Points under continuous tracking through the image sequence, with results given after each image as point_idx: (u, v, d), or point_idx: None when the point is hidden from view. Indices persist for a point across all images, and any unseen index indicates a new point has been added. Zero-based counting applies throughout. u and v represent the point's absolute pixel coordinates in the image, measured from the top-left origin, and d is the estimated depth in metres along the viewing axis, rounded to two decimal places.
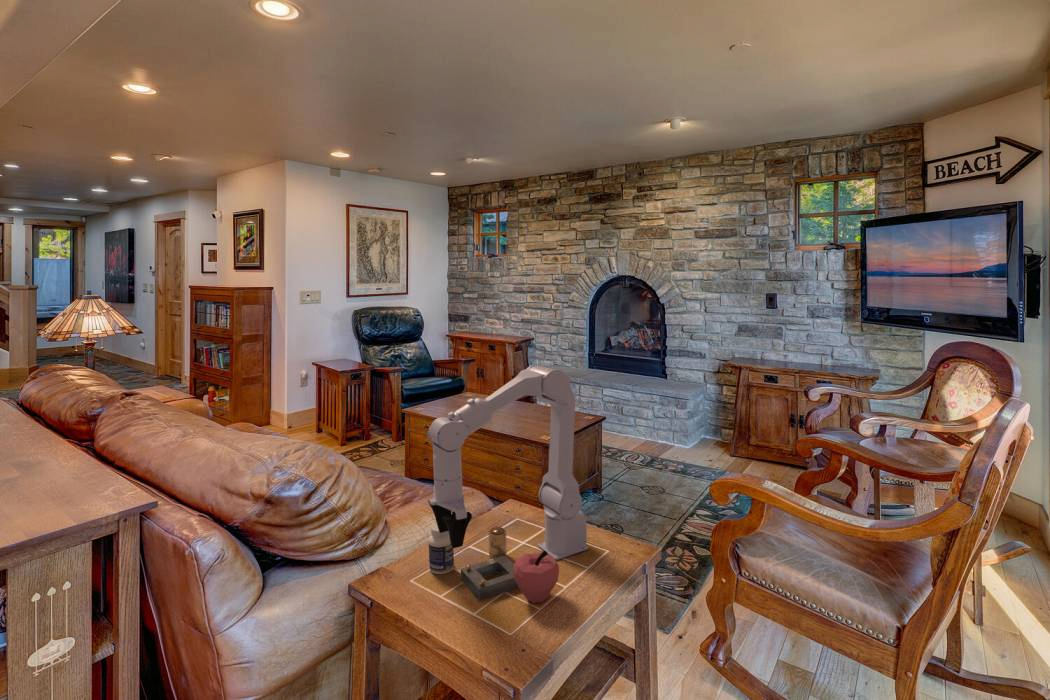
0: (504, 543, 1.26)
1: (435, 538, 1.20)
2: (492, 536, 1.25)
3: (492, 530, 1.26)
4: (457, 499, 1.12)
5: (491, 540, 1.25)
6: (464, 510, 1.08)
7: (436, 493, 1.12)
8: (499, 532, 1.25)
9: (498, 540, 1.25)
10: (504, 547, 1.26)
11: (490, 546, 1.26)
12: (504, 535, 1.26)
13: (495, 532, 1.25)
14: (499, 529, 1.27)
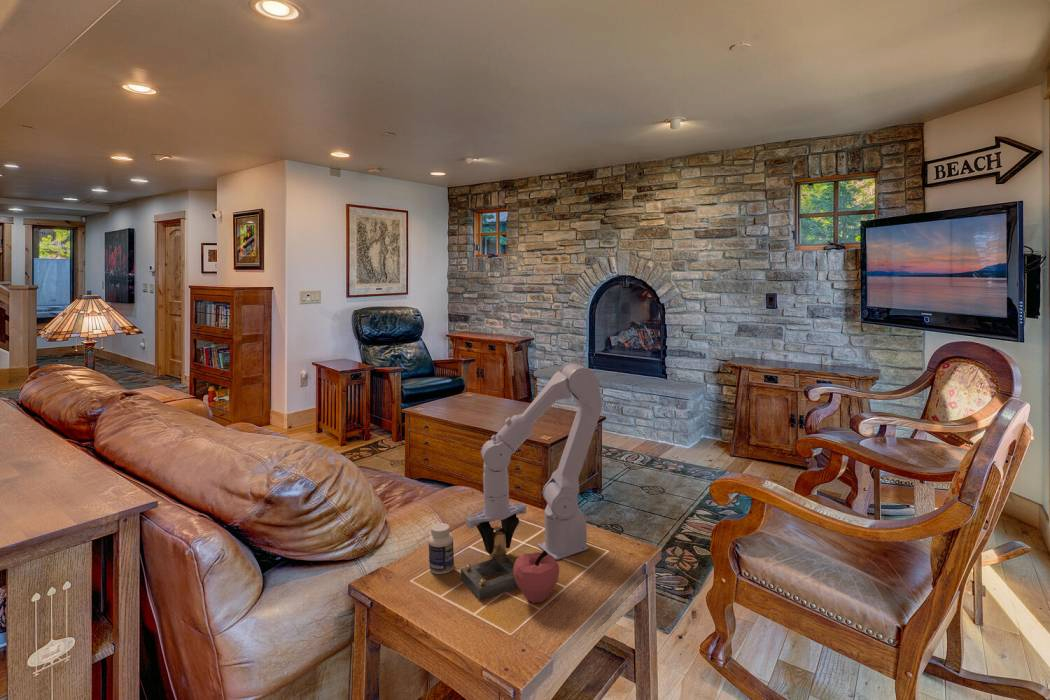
0: (504, 543, 1.26)
1: (435, 538, 1.20)
2: None
3: None
4: (487, 514, 1.24)
5: None
6: (468, 521, 1.22)
7: None
8: (499, 532, 1.25)
9: (498, 540, 1.25)
10: (504, 547, 1.26)
11: None
12: (504, 535, 1.26)
13: (495, 532, 1.25)
14: (499, 529, 1.27)
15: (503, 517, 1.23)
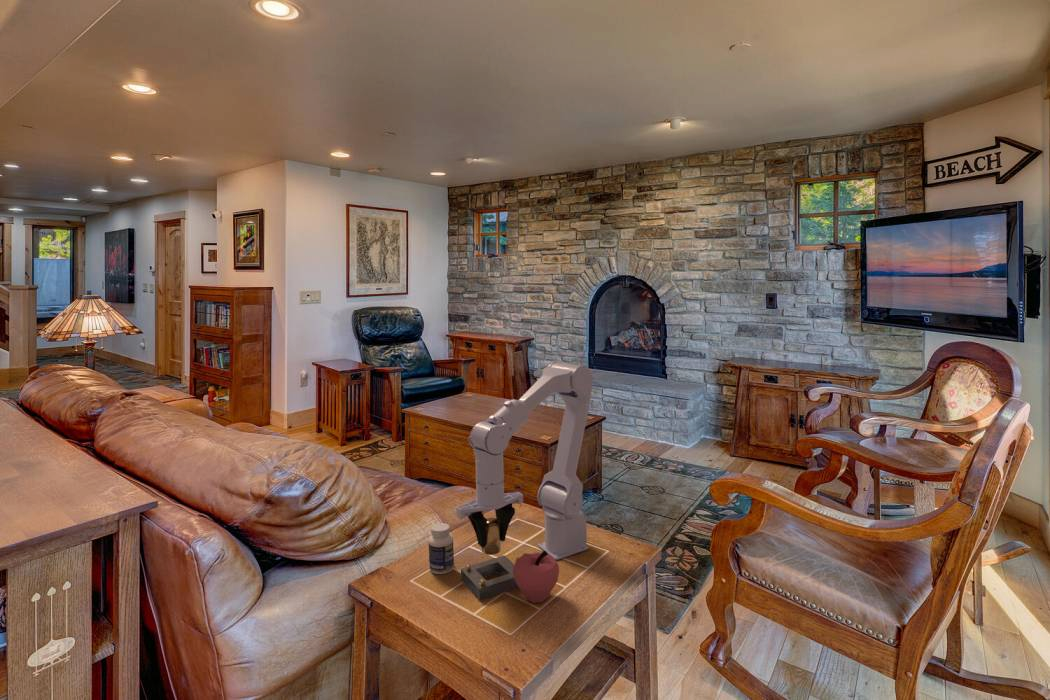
0: (497, 536, 1.14)
1: (435, 538, 1.20)
2: None
3: None
4: (480, 503, 1.12)
5: None
6: (459, 510, 1.10)
7: None
8: (492, 523, 1.14)
9: (490, 532, 1.13)
10: (497, 540, 1.14)
11: None
12: (497, 527, 1.14)
13: (487, 523, 1.14)
14: (492, 520, 1.15)
15: (497, 507, 1.12)
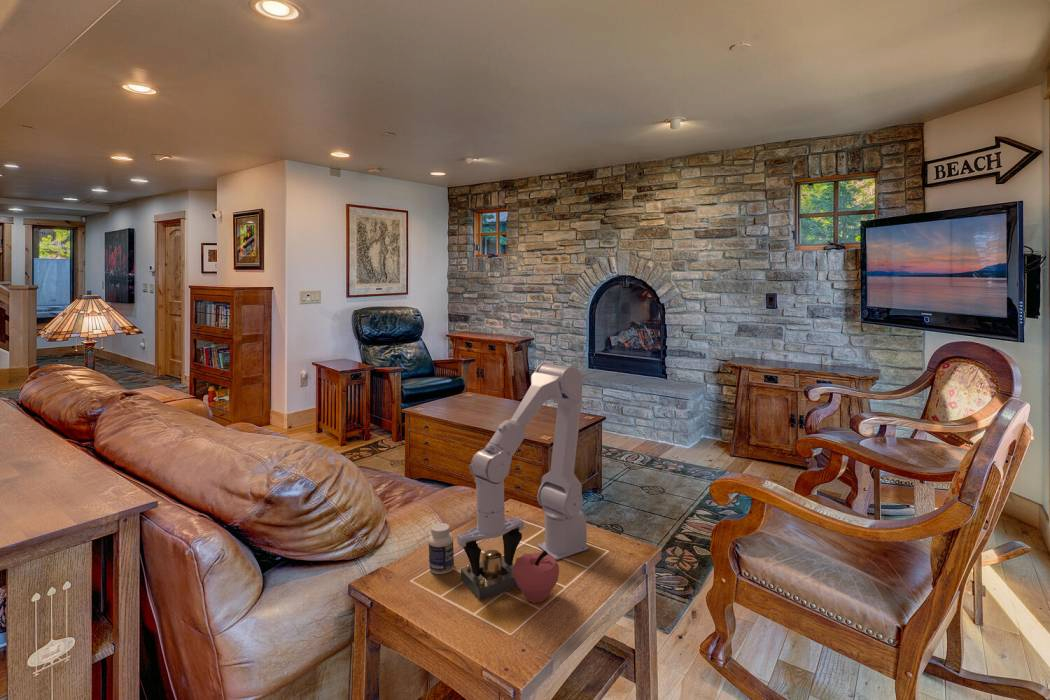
0: (499, 568, 1.15)
1: (435, 538, 1.20)
2: (485, 560, 1.15)
3: (486, 553, 1.16)
4: (481, 531, 1.13)
5: (484, 565, 1.15)
6: (460, 539, 1.11)
7: None
8: (493, 556, 1.15)
9: (492, 565, 1.14)
10: (499, 572, 1.15)
11: (483, 571, 1.15)
12: (499, 559, 1.15)
13: (489, 556, 1.15)
14: (494, 552, 1.16)
15: (498, 534, 1.13)
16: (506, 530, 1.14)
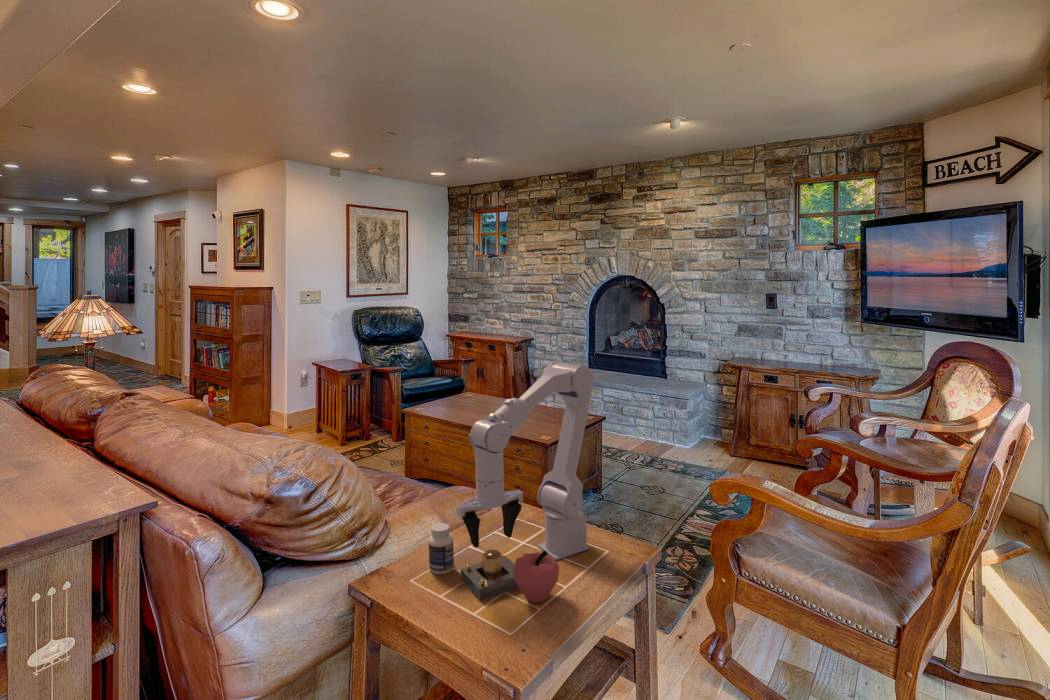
0: (499, 568, 1.15)
1: (435, 538, 1.20)
2: (486, 560, 1.15)
3: (486, 553, 1.16)
4: (480, 501, 1.12)
5: (485, 564, 1.15)
6: (459, 508, 1.10)
7: None
8: (493, 556, 1.15)
9: (492, 565, 1.14)
10: (499, 572, 1.15)
11: (484, 570, 1.15)
12: (499, 559, 1.15)
13: (489, 556, 1.15)
14: (494, 552, 1.16)
15: (497, 505, 1.12)
16: (505, 501, 1.13)
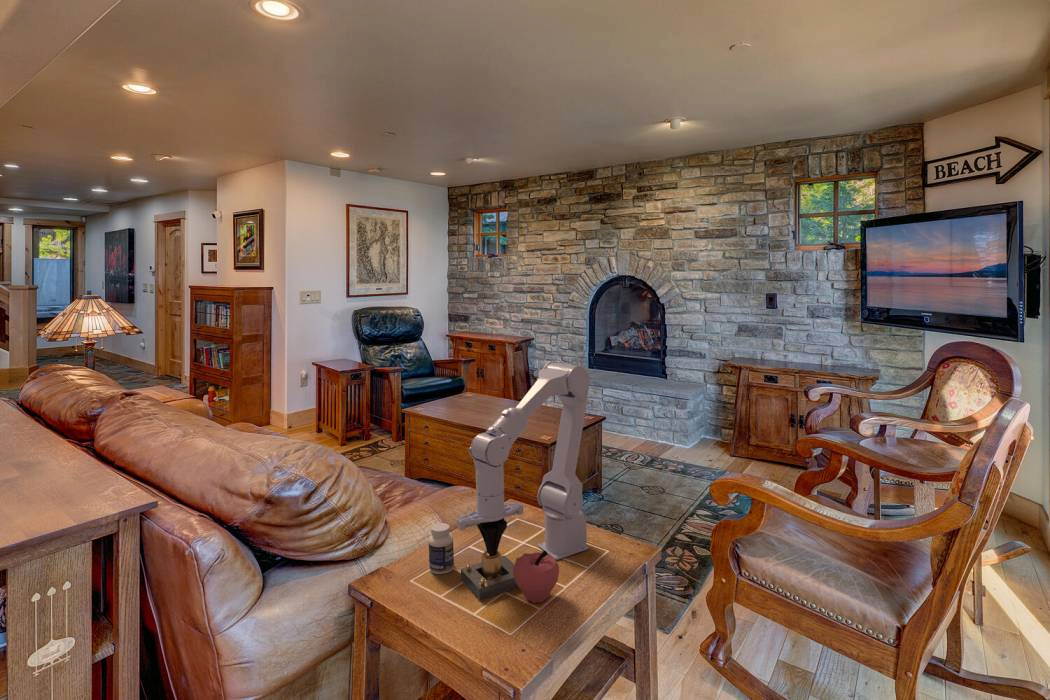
0: (498, 568, 1.15)
1: (435, 538, 1.20)
2: (485, 560, 1.15)
3: (486, 553, 1.16)
4: (480, 515, 1.12)
5: (484, 564, 1.15)
6: (459, 522, 1.10)
7: None
8: (493, 556, 1.15)
9: (491, 565, 1.14)
10: (498, 572, 1.15)
11: (483, 570, 1.16)
12: (498, 559, 1.15)
13: (488, 555, 1.15)
14: None
15: (498, 518, 1.12)
16: (506, 514, 1.14)
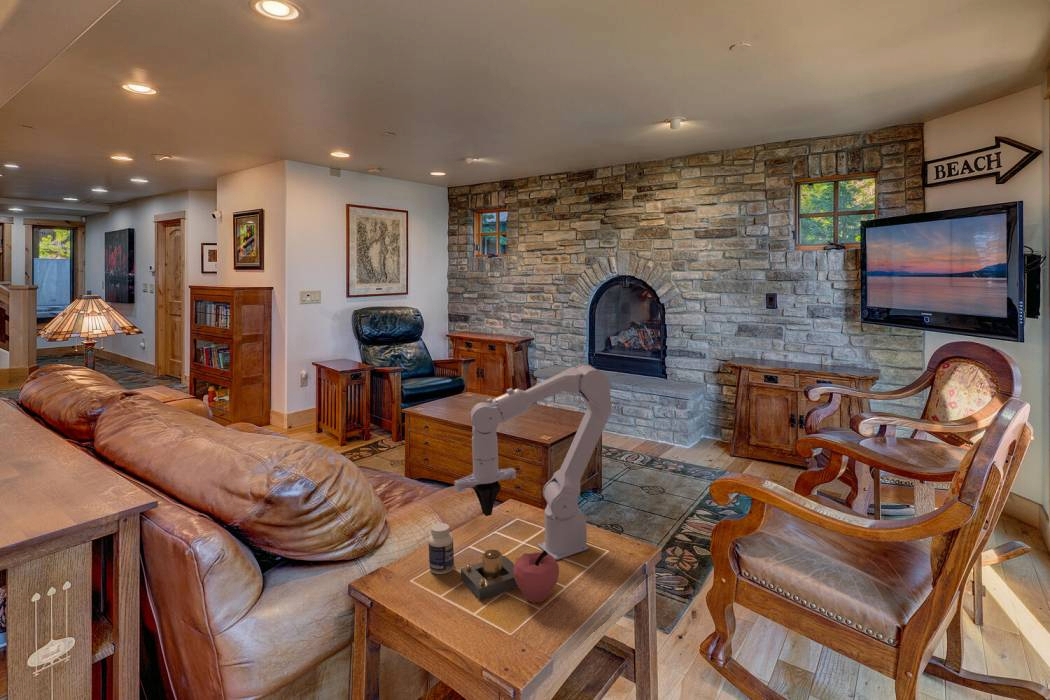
0: (499, 568, 1.15)
1: (435, 538, 1.20)
2: (485, 560, 1.15)
3: (487, 553, 1.16)
4: (476, 477, 1.22)
5: (485, 564, 1.15)
6: (457, 483, 1.20)
7: None
8: (493, 556, 1.15)
9: (492, 565, 1.14)
10: (498, 573, 1.15)
11: (483, 570, 1.16)
12: (499, 559, 1.15)
13: (489, 555, 1.15)
14: (494, 552, 1.16)
15: (492, 480, 1.22)
16: (499, 477, 1.24)
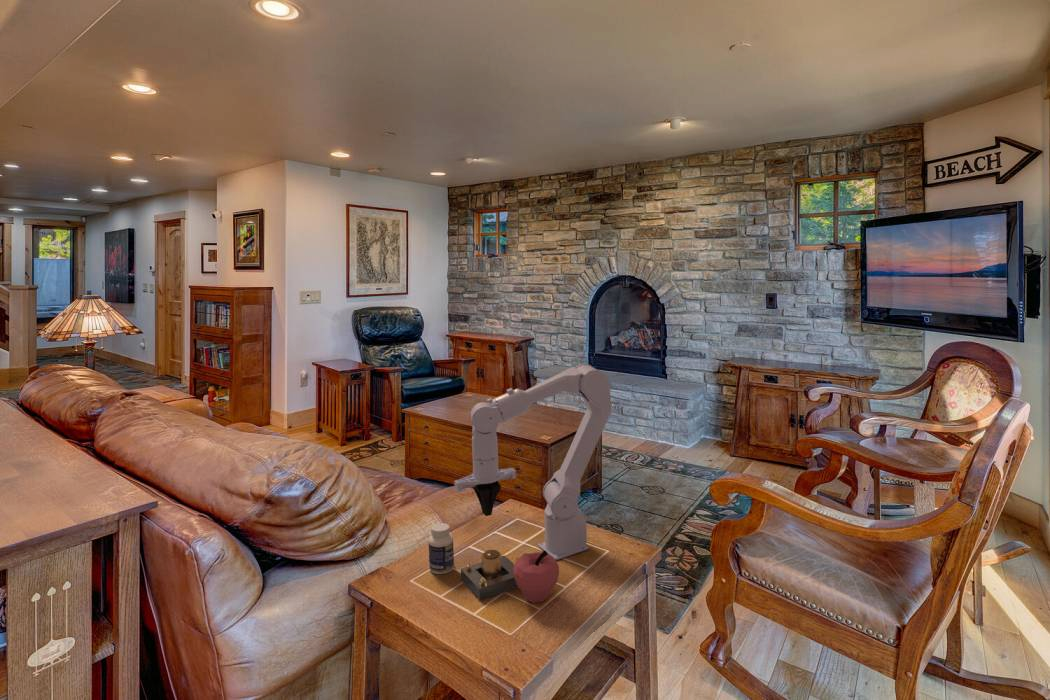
0: (498, 568, 1.15)
1: (435, 538, 1.20)
2: (485, 560, 1.15)
3: (486, 553, 1.16)
4: (476, 477, 1.22)
5: (484, 565, 1.15)
6: (457, 483, 1.20)
7: None
8: (492, 556, 1.15)
9: (491, 565, 1.14)
10: (498, 573, 1.15)
11: (483, 571, 1.16)
12: (498, 560, 1.15)
13: (488, 556, 1.15)
14: (493, 553, 1.16)
15: (492, 480, 1.22)
16: (499, 477, 1.24)
